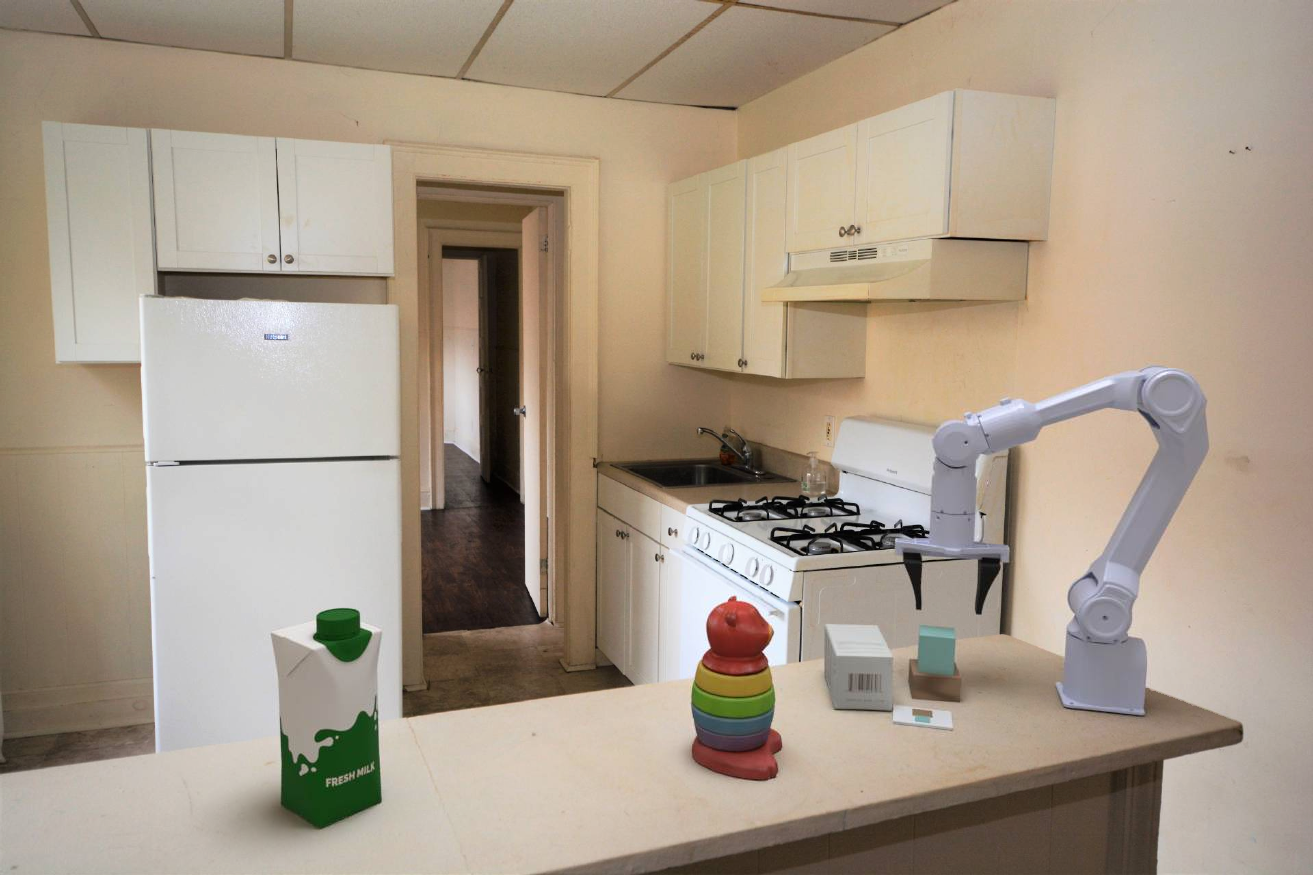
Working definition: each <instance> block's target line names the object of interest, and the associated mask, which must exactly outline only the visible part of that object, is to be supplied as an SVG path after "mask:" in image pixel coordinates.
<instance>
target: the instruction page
mask: <svg viewBox="0 0 1313 875" xmlns="http://www.w3.org/2000/svg"><path fill="white" fill-rule="evenodd" d="M892 710H893V711H892V713H893V714H892V715H893V716H892V724H895V725H896V724H897V725H903V726H904V725H905V726H914V727H919V728H920V727H921V728H928V729H929V728H930V729H936V730H937V729H938V730H947V731H953V730H954V727H953V717H952V716H953V715H952V711H948V710H938V709H933V708H932V709H931V708H923V707H921V708H920V707H913V706H904V705H896V704H895V705H893V709H892Z"/></svg>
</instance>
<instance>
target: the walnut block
mask: <svg viewBox="0 0 1313 875" xmlns="http://www.w3.org/2000/svg"><path fill="white" fill-rule="evenodd" d="M907 680H908V681H907V682H908V687H909V690H910V695H911V699H912V700H921V701H934V702H945V703H946V702H947V703H957V704H959V703H961V690H962V688H961V687H962V676H961V674H960V671H959V668H958V666H957V664H956V662H955V661H954V676H949V675H940V674H930V673H921V672H918V658H909V662H908V679H907Z"/></svg>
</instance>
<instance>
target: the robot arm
mask: <svg viewBox="0 0 1313 875" xmlns="http://www.w3.org/2000/svg"><path fill="white" fill-rule="evenodd" d="M999 403H1000V404H999V405H996V406H993V407H990V408H987V409H984V410H981V411H978V412H976V413H972V411H967V412H964V413H963V417H964V420H965V421H964V420H962V419H961V420H959V419H950V420H948V421H944V422H943V423H941V424H940V425H939V426H938V427H937V429H936V430H935V432H934V434H933V438H932V439H931V443H932V447H933V452H934V454H935V455H936V456H935V457H934V460H933V463H932V464H933V465H932V467H933V468H932V470H933V474H932V475H931V491H930V513H929V514H930V515H929V516H930V518H929V537H928V538H927V537H926V538H897V537H896V538H895V539H894V555H895V556H902V562H903V565H904V568H905V570H906V573H907V575H908V577H909V580H910V583H911V586H912V589H913V594H914V595H913V596H914V599H915V610H916V611H922V605H923V601H922V577H923V576H922V575H923V574H922V573H923V557H932V558H933V557H934V558H935V557H936V558H949V559H951V558H952V559H953V558H954V559H966V560H977V583H976V593H975V599H974V600H975V601H974V611H975V615H976V616H978V615H982V614H983V608H984V605H985V602H986V598H987V596H988V593H989V591H990V589H991V587H992V585H993V583H994V582H995V580H996V578H997V577H998V575H999V573H1000V571H1001V567H1002V566H1001V563H1006V564H1007V563H1010V552H1011V551H1010V547H1009V545H1008V544H998V543H997V544H996V543H991V542H990V543H988V542H982V541H975V529H976V528H975V527H976V508H977V507H976V504H977V487H978V486H977V485H978V478H977V476H976V467H977V465H976V464H977V460H978V459H979V457H980V455H986V456H991V455H993V454H997V453H1000V452H1002V451H1004V450H1005V451H1006V450H1009V449H1011V448H1014V447H1017V446H1020V445H1024V444H1026V443H1030V442H1033V441H1035V440H1036V439H1037V438H1038V436H1039V434H1040V433H1041V430H1042V429H1043V427H1046V426H1050V425H1053V424H1056V423H1059V422H1063V421H1067V420H1071V419H1074V418H1077V417H1080V416H1083V415H1086V414H1087V415H1088V414H1091V413H1093V412H1094V413H1095V412H1097V411H1101V410H1105V409H1115V410H1122V411H1129V412H1134V413H1135V412H1138V413H1139V414H1140V415H1141V416H1142V417H1143V418H1144V419H1145V421H1147V423H1148V426H1149V428H1150V429H1151V432H1152V434H1153V436H1154V438H1155V441H1156V442H1157V444H1158V448H1157V451H1156V452H1155V454H1154V456H1153V458H1152V459H1151V462H1150V463H1149V465H1148V467H1147V469H1146V470H1145V473H1144V474H1143V476H1142V479H1141V481H1140V482H1139V483H1138V486H1137V488H1136V490H1135V491H1134V494H1132V497H1131V500H1130V501H1129V503H1128V504H1127V507H1126V509H1125V510H1124V512H1123V514H1122V516H1121V518H1120V520H1119V522H1118V523H1117V525H1116V527H1115V528H1114V531H1113V533H1112V535H1111V536H1110V538H1109V540H1108V542H1107V544H1106V546H1105V548H1104V550H1103V551H1102V553H1101V554H1100V556H1098V558H1096V559H1095V560H1094V561H1093V562H1091V564H1090V565H1089V567H1088V570H1087V571H1086V572H1085V573H1084V574H1083V575H1082V576H1081V577H1079V578H1077V579H1075V581H1073V582H1072V584H1071V585H1070V587H1069V589H1068V591H1067V603H1068V606H1069V609H1070V610H1071V612H1072V613H1073V614H1074V616H1073V617H1072V619H1071V621H1069V623H1068V624H1067V625H1066V631H1065V633H1066V634H1065V648H1064V661H1063V673H1062V674H1063V676H1062V681H1055V683H1054V684H1055V685H1054V686H1055V688H1056V691H1057V693H1058V695H1059V698H1060V700H1061V704H1062V706H1063V707H1066V708H1071V709H1072V708H1073V709H1078V710H1079V709H1080V710H1081V709H1082V710H1090V711H1100V712H1108V713H1109V712H1110V713H1118V714H1125V715H1127V714H1128V715H1135V716H1136V715H1137V716H1145V714H1146V712H1145V699H1146V685H1147V675H1148V672H1147V671H1148V655H1147V654H1148V653H1147V652H1148V651H1147V647H1146V643H1145V640H1144V639H1143V638H1141V637H1136V636H1129V633H1128V631H1129V630H1130V629H1131V626H1132V623H1133V607H1134V604H1135V602H1136V600H1137V599H1138V595H1139V589H1140V581H1141V575H1143V572H1144V570H1145V568H1146V567H1147V564H1148V563H1149V561H1150V559H1151V558H1152V555H1153V553H1154V552H1155V550H1156V548H1157V546H1158V545H1159V542H1160V541H1161V539H1162V537H1163V535H1164V533H1165V532H1166V530H1167V528H1168V526H1169V524H1170V523H1171V521H1172V518H1173V517H1174V515H1175V513H1176V512H1177V510H1178V508H1179V506H1180V504H1181V502H1182V501H1183V500H1184V497H1185V495H1186V494H1187V492H1188V489H1189V488H1190V486H1191V484H1192V482H1193V481H1194V479H1195V477H1196V476H1197V473H1198V471H1199V470H1200V467H1201V466H1202V464H1203V462H1204V460H1205V459H1206V457H1207V454H1208V452H1209V449H1210V441H1209V431H1208V422H1207V413H1206V409H1207V403H1208V398H1207V396H1206V395H1205V393H1204V392H1203V389H1202V388H1201V386H1200V384H1199V383H1198V381H1197V379H1195V377H1194V376H1193V375H1192V374H1190V372H1187V371H1186V370H1183V369H1180V368H1175V367H1170V368H1169V367H1165V366H1163V365H1157V364H1156V365H1148V366H1144V367H1142V368H1141V369H1138V370H1134V369H1133V370H1129V371H1127V370H1126V371H1122V372H1119V373H1115V374H1112V375H1108V376H1105V377H1102V378H1099V379H1097V380H1093V381H1092V382H1088V383H1087V384H1084V385H1081V386H1077V387H1076V388H1073V389H1070V390H1067V391H1064V392H1062V393H1060V394H1059V393H1058V394H1057V395H1053V396H1051V397H1049V398H1047V399H1043V400H1040V401H1037V402H1035V403H1032V402H1029V401H1027V400H1025V399H1023V398H1016V399H1013V400H1012V399H1011V398H1010V397H1009V396H1008V397H1005V398H1001V399H999Z"/></svg>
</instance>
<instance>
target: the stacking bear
mask: <svg viewBox="0 0 1313 875" xmlns="http://www.w3.org/2000/svg"><path fill="white" fill-rule="evenodd" d="M737 599H738V598H737V596H736V595H733V596H732V595H731V596H730V597H729V598H728V599H727V601H726V602H723V603H722V602H721V603H720V604H718V605H716V606H715V607H714V608H713V609H712V610H711V611H710V613H709V614H708V617H707V620H706V623H705V628H706V630H705V631H706V637H707V641H708V644H709V647H710V648H708V650H706V651H705V653H704V654H703V655H702V658H701V659H700V660H699V662H698V663H697V665H696V666H697V667H696V670H695V674H694V680H693V681H692V682H693V683H692V686H691V696H690V698H691V700H690V705H691V716H692V719H693V724H694V729H695V732H696V733H695V734H696V735H695V737H694V740H693V742H692V747H691V754H692V757H693V758H694V759H695V761H696V762H698V763H699V765H702V766H704V767H706V768H707V769H710V770H712V771H715V772H717V773H721V774H725V775H728V776H730V777H731V776H732V777H736V778H743V779H747V780H749V779H750V780H768V779H771V778H774V777H775V776H777V773H778V771H779V764H778V761H777V759H776V758H775V756H774V755H773V754H775V753H776V752H778V751H779V750H781V749H782V747H783V741H782V736H781V734H780V733H779V732H778V731H777V730H776V729H774V728H771V727H772V723H773V721H774V716H775V708H776V707H775V706H776V705H775V704H776V692H775V686H774V683H773V677H772V670H771V667H770V665H769V659H768V657H767V656H766V655H765V653H764V651H765V650H766V648H767V647H768V646H769V645H770V643H771V641H772V639H773V637H774V634H775V631H774V629H773V626H772V625H771V624H770V623H769V622H768V621H767V620H766V619H765V618H764V617H763V615H762V614H761V613H760V612H759V610H758V608H756V606H755V605H753V604H752V603H749V602H747V601H743V600H742V601H741V600H737Z"/></svg>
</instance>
